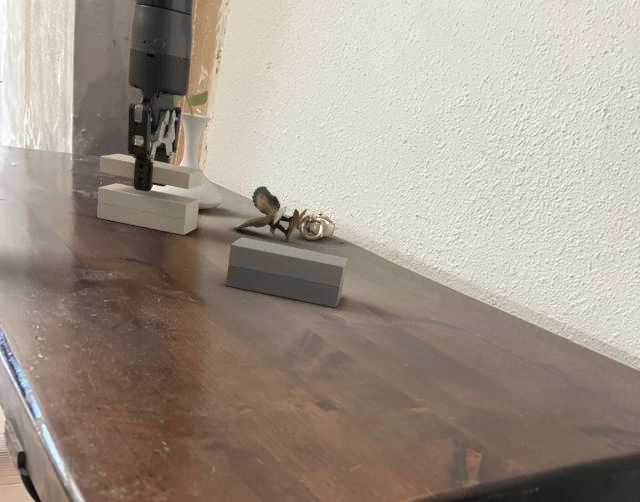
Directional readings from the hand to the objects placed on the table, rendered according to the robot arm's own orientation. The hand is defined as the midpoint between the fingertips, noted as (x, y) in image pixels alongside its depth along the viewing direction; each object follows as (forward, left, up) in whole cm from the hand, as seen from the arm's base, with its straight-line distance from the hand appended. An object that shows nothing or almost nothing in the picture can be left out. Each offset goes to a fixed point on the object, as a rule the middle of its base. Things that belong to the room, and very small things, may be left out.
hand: (150, 187), depth 100 cm
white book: (0, 0, +1) cm, 1 cm away
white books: (0, 0, -5) cm, 5 cm away
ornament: (+21, +14, -5) cm, 26 cm away
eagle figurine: (+15, +8, -5) cm, 18 cm away
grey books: (+23, -22, -5) cm, 32 cm away
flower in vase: (-1, +19, -5) cm, 20 cm away
